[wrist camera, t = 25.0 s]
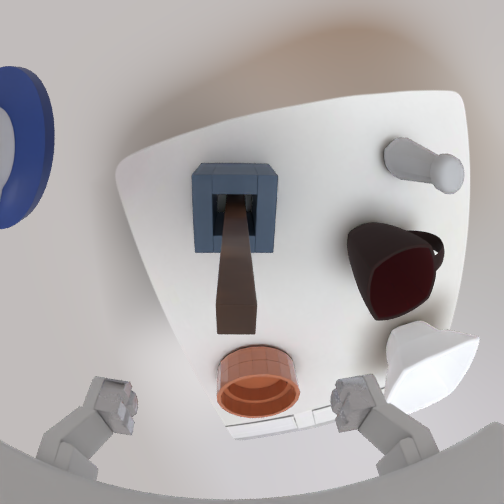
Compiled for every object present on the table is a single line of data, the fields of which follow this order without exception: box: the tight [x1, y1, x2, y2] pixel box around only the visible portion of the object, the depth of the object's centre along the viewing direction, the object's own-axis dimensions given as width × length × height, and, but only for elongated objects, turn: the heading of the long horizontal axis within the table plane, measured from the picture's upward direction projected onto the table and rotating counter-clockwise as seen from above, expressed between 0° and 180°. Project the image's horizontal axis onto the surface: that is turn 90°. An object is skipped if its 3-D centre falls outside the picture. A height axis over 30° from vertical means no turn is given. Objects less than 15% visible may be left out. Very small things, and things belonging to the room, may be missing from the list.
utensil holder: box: [192, 163, 278, 253], centre depth 32 cm, size 8×8×8 cm
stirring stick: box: [216, 194, 257, 334], centre depth 25 cm, size 2×2×24 cm
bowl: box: [384, 321, 480, 415], centre depth 43 cm, size 19×19×14 cm
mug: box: [347, 223, 444, 320], centre depth 34 cm, size 10×14×12 cm
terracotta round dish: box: [217, 346, 300, 418], centre depth 47 cm, size 14×14×7 cm
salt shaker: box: [384, 138, 464, 194], centre depth 28 cm, size 6×6×13 cm
